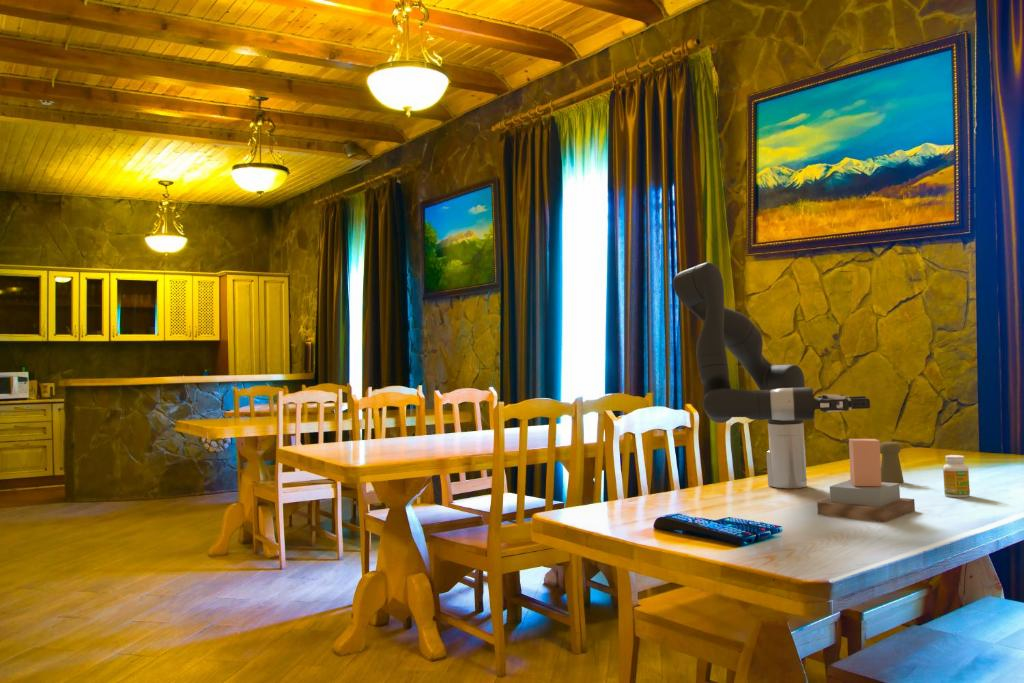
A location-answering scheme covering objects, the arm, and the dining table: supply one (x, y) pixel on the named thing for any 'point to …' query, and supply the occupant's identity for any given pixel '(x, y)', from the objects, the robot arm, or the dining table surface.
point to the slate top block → (864, 493)
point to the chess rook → (890, 463)
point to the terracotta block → (865, 462)
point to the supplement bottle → (956, 477)
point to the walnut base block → (867, 510)
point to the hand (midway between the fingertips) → (868, 402)
